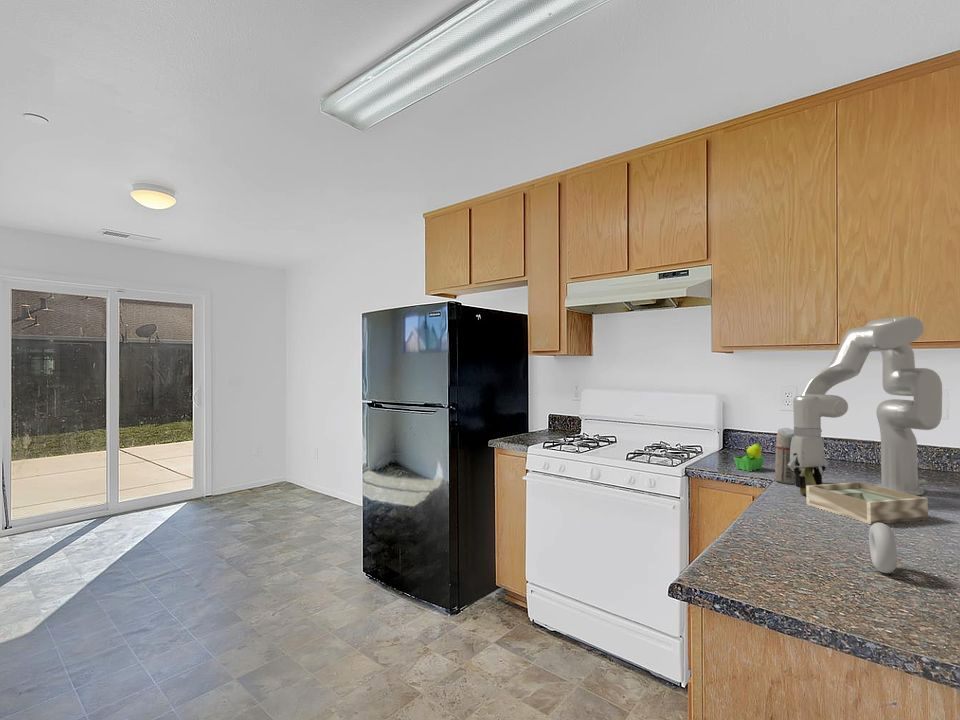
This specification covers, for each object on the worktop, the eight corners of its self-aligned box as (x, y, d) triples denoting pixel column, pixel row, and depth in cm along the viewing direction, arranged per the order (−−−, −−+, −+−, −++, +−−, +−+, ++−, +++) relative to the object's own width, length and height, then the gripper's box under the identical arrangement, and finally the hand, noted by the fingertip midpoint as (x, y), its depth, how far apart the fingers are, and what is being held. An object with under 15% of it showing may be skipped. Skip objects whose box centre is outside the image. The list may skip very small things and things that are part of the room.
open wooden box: (858, 501, 156) (858, 482, 156) (928, 519, 137) (927, 498, 137) (806, 505, 152) (806, 485, 152) (870, 524, 132) (870, 502, 133)
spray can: (798, 480, 185) (797, 427, 186) (804, 485, 177) (803, 430, 178) (772, 479, 188) (771, 427, 188) (777, 483, 180) (777, 429, 180)
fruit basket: (748, 466, 213) (747, 440, 213) (768, 470, 205) (768, 443, 205) (732, 469, 207) (732, 442, 207) (753, 473, 199) (753, 445, 199)
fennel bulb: (810, 493, 166) (809, 457, 166) (822, 496, 161) (821, 460, 161) (795, 494, 165) (794, 458, 165) (807, 497, 160) (806, 461, 160)
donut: (867, 561, 107) (866, 515, 107) (887, 564, 105) (886, 518, 106) (877, 578, 98) (876, 528, 99) (899, 582, 97) (898, 531, 97)
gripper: (818, 430, 169) (820, 482, 169) (776, 432, 165) (777, 486, 165) (838, 433, 162) (840, 487, 161) (795, 435, 158) (796, 491, 157)
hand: (808, 486), depth 163 cm, fingers closed on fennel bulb, 5 cm apart
